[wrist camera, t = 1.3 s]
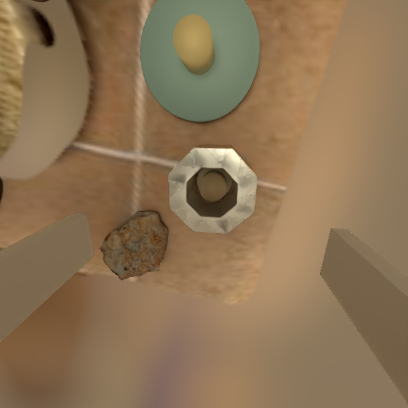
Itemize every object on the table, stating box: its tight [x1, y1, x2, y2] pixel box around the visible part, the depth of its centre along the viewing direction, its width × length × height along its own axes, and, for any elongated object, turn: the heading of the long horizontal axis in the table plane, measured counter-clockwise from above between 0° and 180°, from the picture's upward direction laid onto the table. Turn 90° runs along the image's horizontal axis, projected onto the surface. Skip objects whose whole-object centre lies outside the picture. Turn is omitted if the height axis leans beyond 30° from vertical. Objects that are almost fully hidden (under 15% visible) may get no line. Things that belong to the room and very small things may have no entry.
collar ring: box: [168, 145, 258, 234], centre depth 24 cm, size 9×9×6 cm
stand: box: [197, 167, 232, 201], centre depth 24 cm, size 4×4×4 cm
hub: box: [140, 0, 260, 122], centre depth 19 cm, size 12×12×6 cm
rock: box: [99, 211, 168, 280], centre depth 28 cm, size 9×6×10 cm
